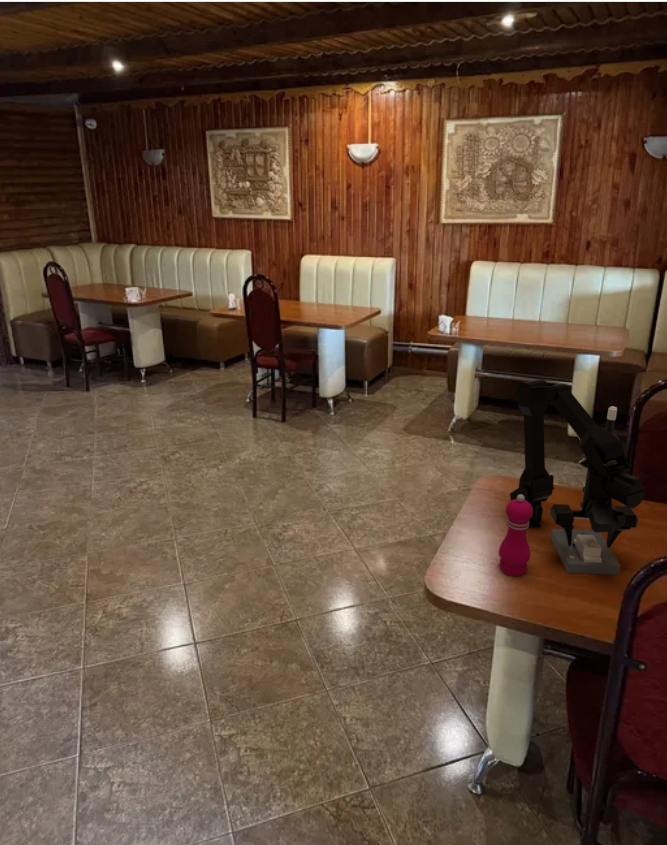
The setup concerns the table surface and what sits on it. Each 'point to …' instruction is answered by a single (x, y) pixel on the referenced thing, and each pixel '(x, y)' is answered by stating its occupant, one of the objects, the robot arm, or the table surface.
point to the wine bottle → (611, 425)
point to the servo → (588, 548)
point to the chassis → (579, 566)
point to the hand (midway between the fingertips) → (588, 546)
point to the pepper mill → (516, 538)
